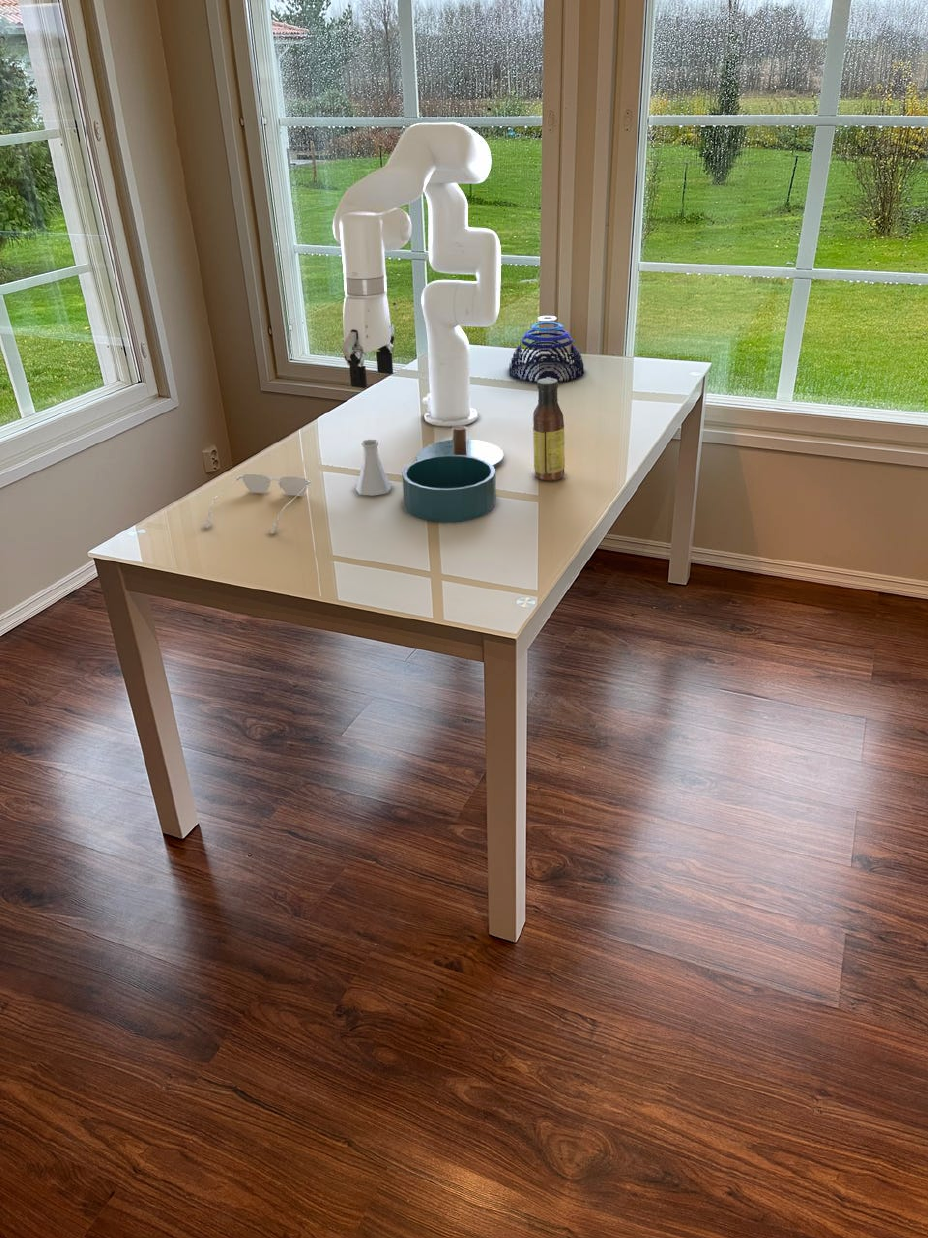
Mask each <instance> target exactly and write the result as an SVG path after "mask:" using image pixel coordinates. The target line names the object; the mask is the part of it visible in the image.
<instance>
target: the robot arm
mask: <svg viewBox="0 0 928 1238" xmlns="http://www.w3.org/2000/svg"><path fill="white" fill-rule="evenodd" d="M491 168H492V153H491V149H490V146H489V145H488V142H487V141H486V140H485V138H484V137H482V136H481V135H480V134H479V133H477V132H476V131H475V130H473V129H472V128H470V127H468V126H467V125H464V124H462V123H458V122H418V123H415V124H411V125H410V126H408V127H407V128H406V129H405V130H404V131H403V133H402V134H401V136H400V138H399V140H398V142H397V143H396V145H395V147H394V149H393V151H392V152H391V155H390V157H389V158H388V160H387V162H386V164H385V165H383V166H382V167H379V168H378V169H376V170H374V171H373V172H371V173H368V175H366V176H363V177H362V178H361V179H359V180H357V181H356V182H354V184H352V185H351V186H350V187H349V188H348V189H347V190H346V191H345V193H344V194H343V196H342V198H341V199H340V201H339V203H338V205H337V207H336V210H335V213H334V216H333V220H332V232H333V236H334V239H335V241H336V242H337V243H338V245H340V246H341V256H342V265H343V266H342V267H343V280H344V281H343V282H344V292H345V293H344V294H345V296H344V301H343V316H342V317H343V319H342V320H343V322H342V324H343V343H342V345H341V350H342V353H343V355H344V360H345V361H346V364H347V366H348V368H349V379H350V386H351V387H353V388H361V389H365V388H367V387H368V383H367V382H368V381H367V367H366V365H364V364H365V360H366V357H367V355H368V354H371V353H373V352H375V351H376V352H375V355H376V369H377V370H376V371H377V373H378V374H385V375H392V374H394V363H393V351H394V346H393V345H394V341H395V332H396V325H395V324H393V323H392V322H391V314H390V307H389V300H388V296H387V295H388V288H387V287H388V286H387V272H386V271H387V269H386V256H385V255H386V254H385V252H388V251H389V252H390V251H397V250H400V249H402V248H404V247H405V246H406V245H407V243H408V242H409V241H410V238H411V235H412V227H413V226H412V221H411V218H410V215H409V214H408V212H407V211H406V210H404V209H403V208H401V207H403V206H406V205H409V204H412V203H414V202H416V201H417V200H419V199H420V198H421V196H422V195H423V194H424V196H425V198H426V202H427V211H428V212H427V213H428V232H427V233H428V242H427V243H428V247H427V249H428V261H429V266H430V267H431V269H432V270H433V271H435V272H437V273H441V274H449V275H473V276H475V278H476V280H475V281H473V280H457V279H437V280H433V281H430V282H429V283H427V284H426V286H424V288H423V290H422V293H421V298H420V301H421V302H420V303H421V310H422V314H423V318H424V323H425V329H426V339H427V358H428V361H427V362H428V382H429V392H428V393H427V394H426V395H425V397H423V398H422V400H421V403H422V404H423V405H426V406H427V410H426V411H425V413H424V415H423V416H424V420H425V422H426V423H428V424H430V425H433V426H437V427H455V426H465V425H468V424H471V423H473V422H475V421H476V420H477V419H478V411H477V410H476V409H474V408H472V407H471V372H470V371H471V370H470V369H471V368H470V364H471V363H470V344H469V339H468V337H467V334H466V333H465V331H464V330H463V329H462V327H477V328H478V327H481V328H485V327H486V328H487V327H491V326H493V325H494V324H495V323H496V321H497V319H498V317H499V312H500V299H501V270H502V269H501V268H502V267H501V266H502V265H501V264H502V251H501V243H500V239H499V237H498V235H497V233H496V232H495V231H493V230H492V229H489V228H484V227H469V223H468V209H469V207H468V201H467V198H466V196H465V194H464V192H463V190H462V189H461V187H460V185H458V184H480V183H483V182H485V180H486V179H487V178H488V176H489V174H490V172H491ZM358 355H359V356H358Z"/></svg>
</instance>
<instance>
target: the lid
mask: <svg viewBox="0 0 928 1238" xmlns="http://www.w3.org/2000/svg"><path fill="white" fill-rule="evenodd" d="M440 455H466V456H471V457H477V458H480V459H482V460H485V461H487V462H489V463H490V464H491V465H493V467H494V468H495V467H497V466H498V465H500V464H501V463H502V462H503V460H504V457H505V456H504V451H503V449H501V448H500V447H499V446H497V445H495V444H493V443H491V442H487V441H483V440H478V439H477V440H476V439H467V427H466V426H465V425H461V426H452V439H449V440H443V441H438V442H434V443H431V444H428V445H426V446H424V447H423V448H421V449H420V450H419V451H418V452H417V453H416V461H417V460H420V459H423V458H428V457H433V456H440Z"/></svg>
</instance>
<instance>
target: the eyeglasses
mask: <svg viewBox="0 0 928 1238" xmlns="http://www.w3.org/2000/svg"><path fill="white" fill-rule="evenodd" d="M239 480H242V481H243V483H244V485H245V487H246V488H247V490H248V491H249V492H252V493H256V494H257V493H259V494H263V493H267V491H268V489H269V488H270V486H271V481H278V485H279V488H280V489H282V490H283V492H284V493H285V494H286V495H289V496H295V497H294V498H293V499H291V500H289V502H287V504H285V505H284V506H283V508H282V509H281V510H280V512H279V514H278V516H277V517H276V520H275V521H274V524H273V526H272V528H271V530H270V533H271V534H275V533H276V532H277V530H278V524H279V521H280V518H281V515H282V514H283V512H284V510H285V509H286V508H287V506H289V504H291V503H292V502H293V501H294V500H295V499H296V498H297V497H298V496H302V495H304V494H305V492H306V490H307V488H308V486H309V485H310V484H311V483H312V481H311V480H309V479H306V478H305V477H301V476H296V475H287V476H282V477H280V478H279V479H278V478H277V477H273V478H270V477H269V476H268V475H266V474H261V473H260V474H259V473H252V472H251V473H243V475H238V476H237V477H235V479H234V480H233V481H232V482H231V483H230V484H229V485H226V486H225V488H224V489H223V490H222V491H221V492H219V494H217V495H216V496H215V497H214V498H213V500H212V502H211V504H210V507H209V510H208V515H207V518H206V521H205V528H206V529H209V527H210V525H211V513H212V509H213V506H214V503H215V501H216V499H218V498H219V496H220V495H221V493H223V492H224V491H225V490H226V489H227V488H228V487H230V486H231V485H232V484H234V482H236V481H239Z"/></svg>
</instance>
